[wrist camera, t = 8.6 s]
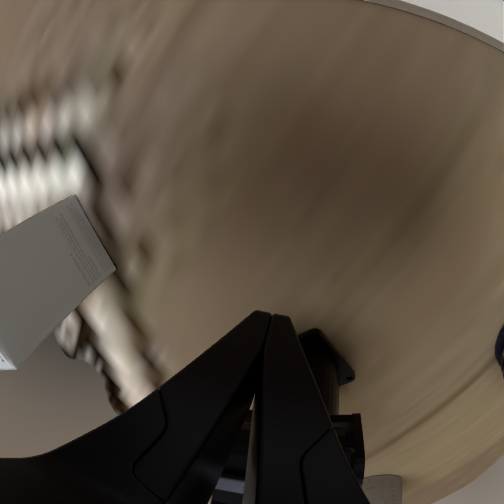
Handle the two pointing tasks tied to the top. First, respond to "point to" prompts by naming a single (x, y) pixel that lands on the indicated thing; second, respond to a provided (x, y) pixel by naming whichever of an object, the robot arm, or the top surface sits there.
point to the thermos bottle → (383, 489)
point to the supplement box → (46, 276)
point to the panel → (460, 16)
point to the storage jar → (500, 349)
